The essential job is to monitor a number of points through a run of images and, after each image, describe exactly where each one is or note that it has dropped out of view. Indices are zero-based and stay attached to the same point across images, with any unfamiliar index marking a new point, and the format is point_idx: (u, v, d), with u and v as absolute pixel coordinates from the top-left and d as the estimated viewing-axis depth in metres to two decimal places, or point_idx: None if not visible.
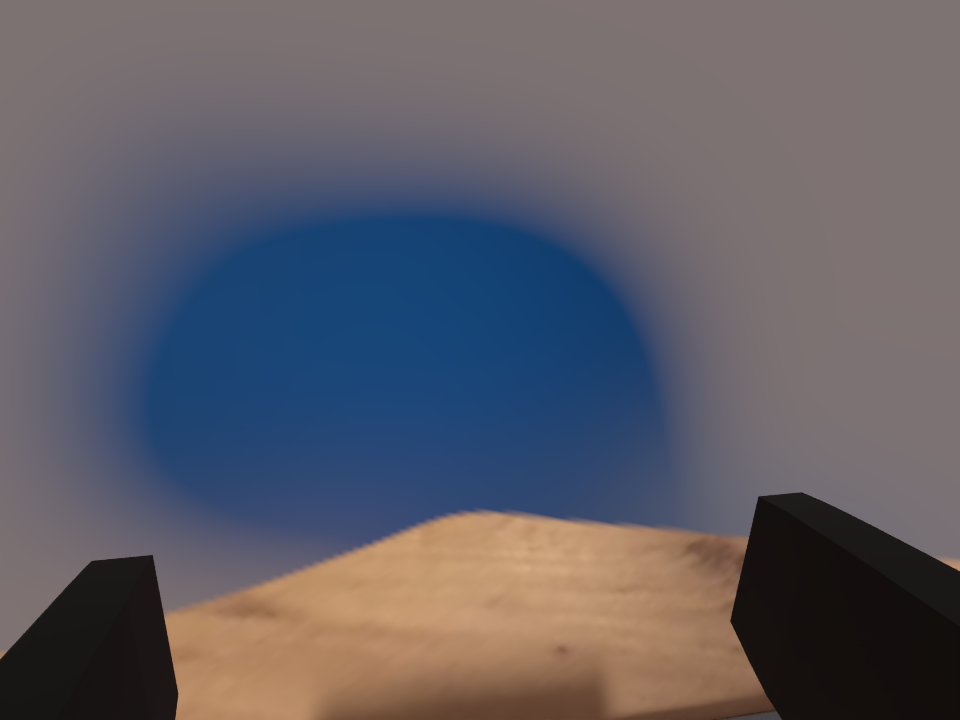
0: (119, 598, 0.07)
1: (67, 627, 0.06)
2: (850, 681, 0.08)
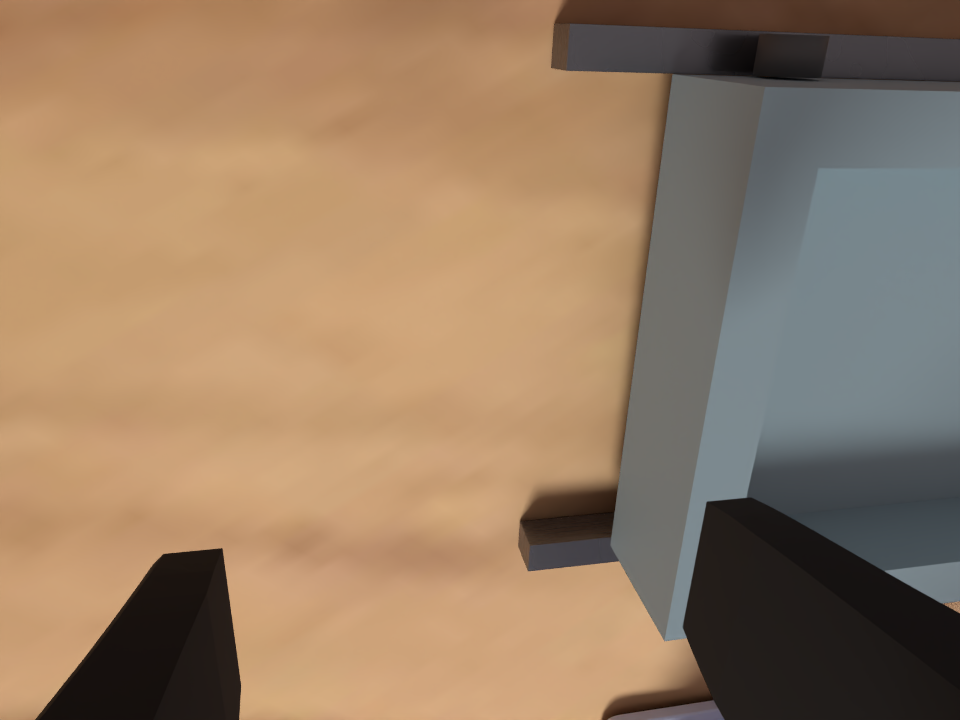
0: (199, 589, 0.07)
1: (153, 617, 0.06)
2: (790, 691, 0.08)
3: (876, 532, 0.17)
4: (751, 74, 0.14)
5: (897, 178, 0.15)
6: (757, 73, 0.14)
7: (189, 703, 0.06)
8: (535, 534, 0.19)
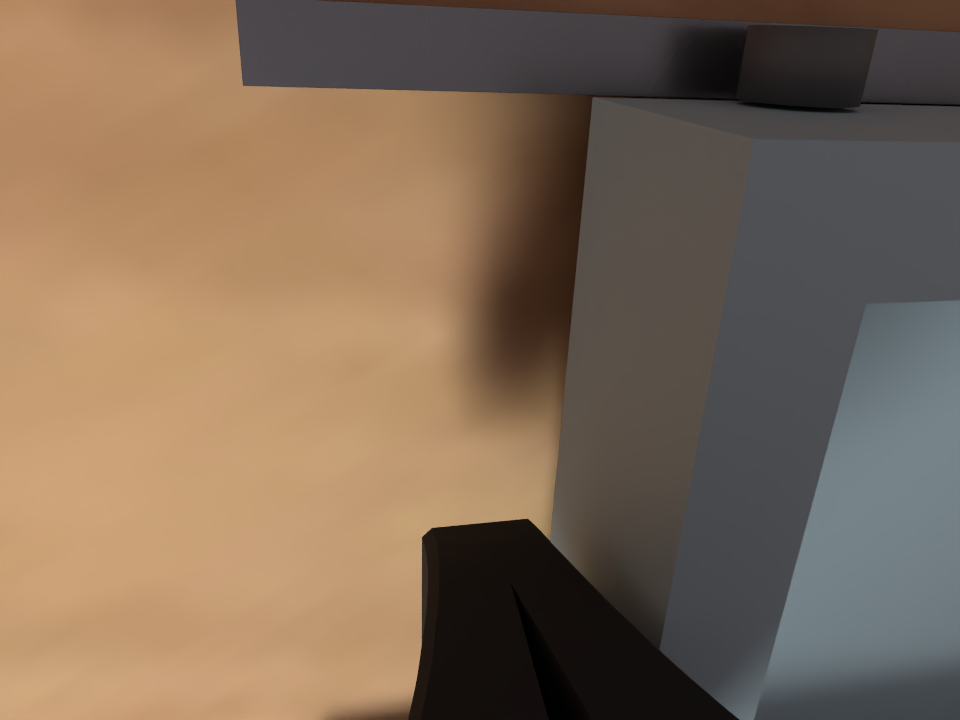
0: (494, 558, 0.07)
1: (471, 582, 0.07)
2: None
3: None
4: (605, 93, 0.08)
5: None
6: (744, 97, 0.07)
7: None
8: None
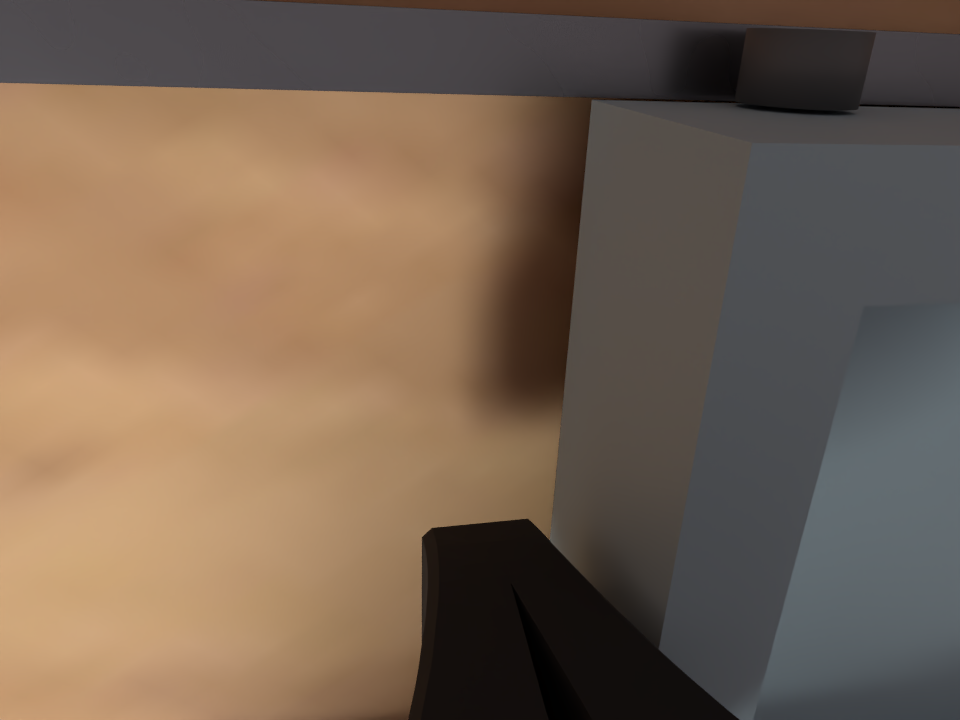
0: (493, 558, 0.07)
1: (470, 582, 0.07)
2: None
3: None
4: None
5: None
6: (742, 100, 0.07)
7: None
8: None
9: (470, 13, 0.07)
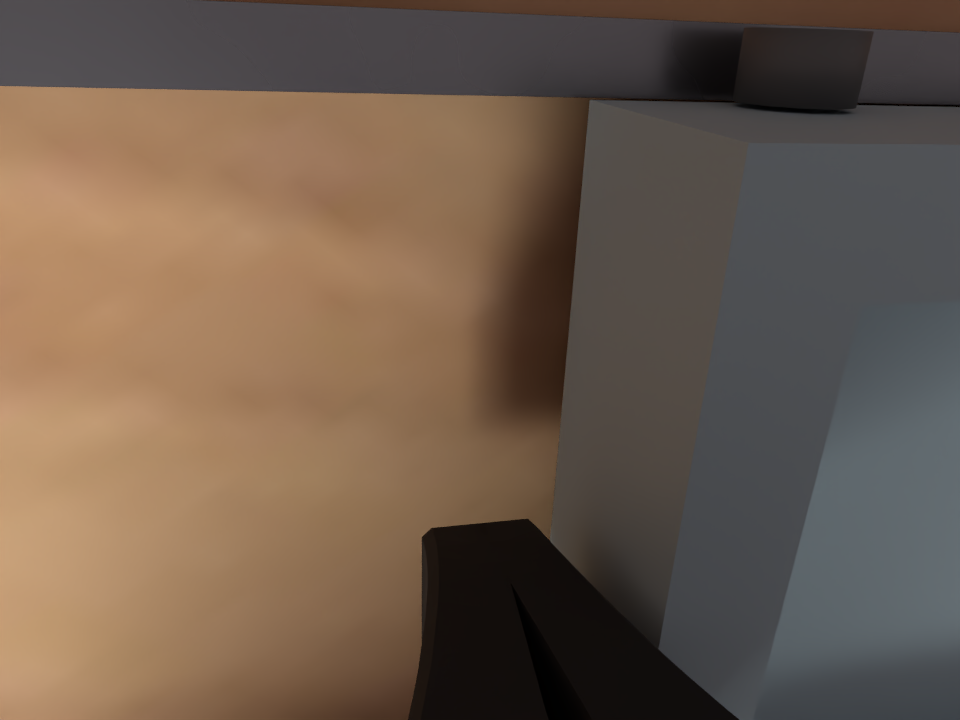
0: (494, 558, 0.07)
1: (471, 582, 0.07)
2: None
3: None
4: None
5: None
6: (740, 99, 0.07)
7: None
8: None
9: (150, 0, 0.07)
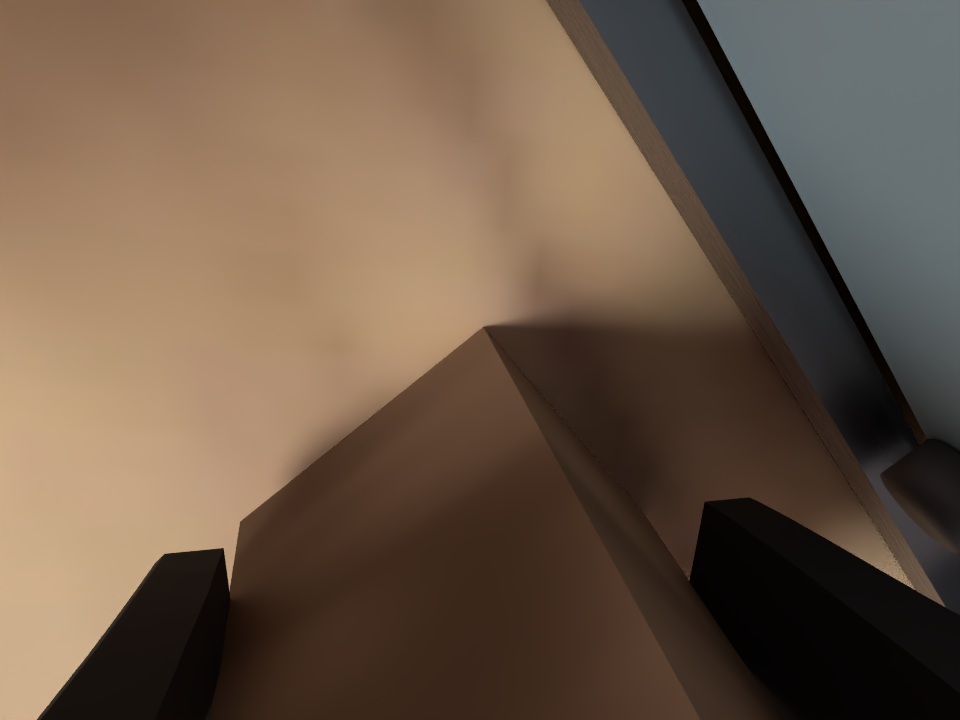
0: (200, 590, 0.07)
1: (155, 617, 0.06)
2: (789, 691, 0.08)
3: None
4: None
5: None
6: None
7: (190, 703, 0.06)
8: None
9: None
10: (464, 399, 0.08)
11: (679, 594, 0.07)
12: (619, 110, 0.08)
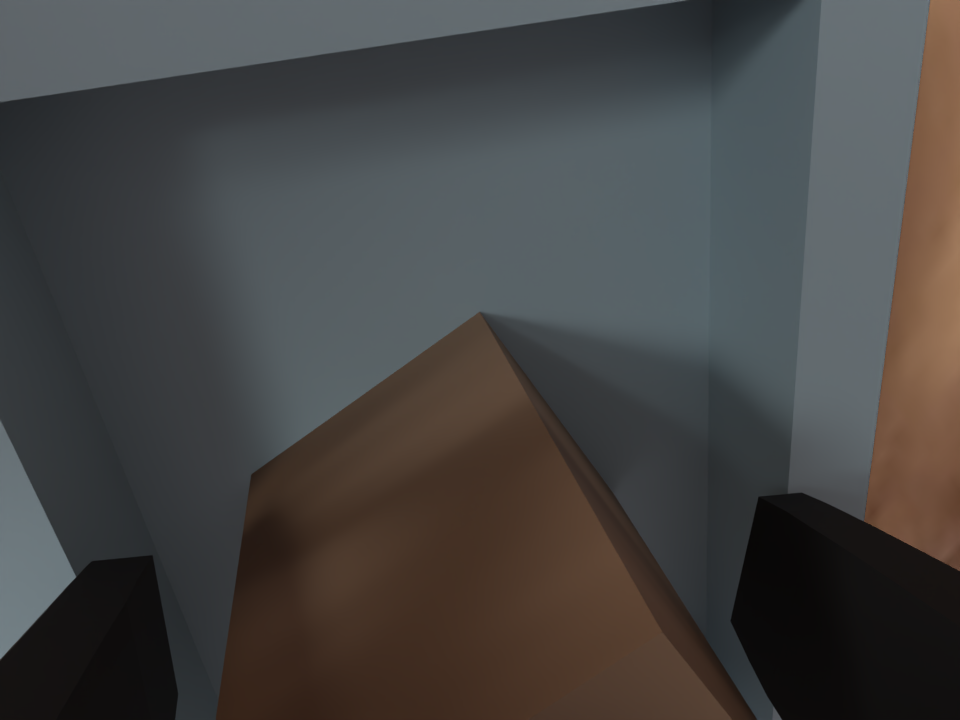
0: (119, 598, 0.07)
1: (67, 627, 0.06)
2: (850, 682, 0.08)
3: (96, 490, 0.09)
4: None
5: (672, 262, 0.10)
6: None
7: (100, 715, 0.06)
8: None
9: None
10: (461, 371, 0.09)
11: (637, 546, 0.08)
12: None
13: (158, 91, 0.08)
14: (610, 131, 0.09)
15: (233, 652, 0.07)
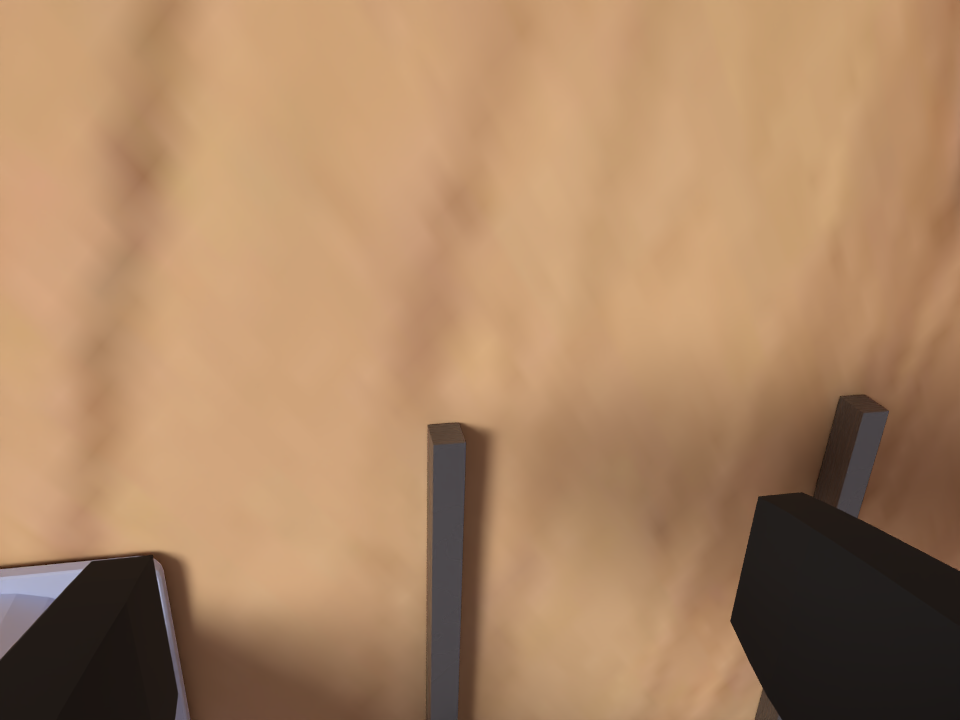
0: (119, 598, 0.07)
1: (67, 627, 0.06)
2: (850, 682, 0.08)
3: None
4: None
5: None
6: None
7: (100, 715, 0.06)
8: None
9: None
10: None
11: None
12: None
13: None
14: None
15: None
